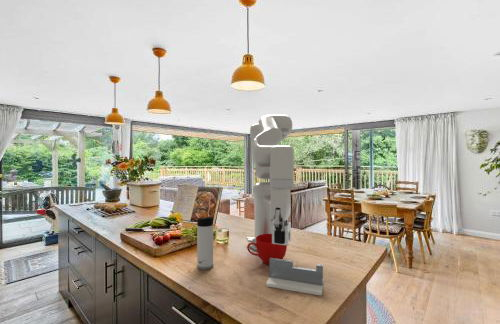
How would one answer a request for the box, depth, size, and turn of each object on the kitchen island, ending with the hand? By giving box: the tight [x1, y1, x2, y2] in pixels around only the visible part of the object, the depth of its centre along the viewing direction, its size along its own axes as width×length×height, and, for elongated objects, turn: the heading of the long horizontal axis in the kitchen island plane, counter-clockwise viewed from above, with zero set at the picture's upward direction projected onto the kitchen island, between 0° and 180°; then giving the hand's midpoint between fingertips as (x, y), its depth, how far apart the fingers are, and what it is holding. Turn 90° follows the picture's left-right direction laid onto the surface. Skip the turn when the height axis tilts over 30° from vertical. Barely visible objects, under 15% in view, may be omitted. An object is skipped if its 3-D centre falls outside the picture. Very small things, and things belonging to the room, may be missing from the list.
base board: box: [265, 277, 324, 296], centre depth 87 cm, size 18×10×1 cm, turn 71°
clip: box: [272, 221, 292, 246], centre depth 81 cm, size 5×5×6 cm
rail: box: [269, 258, 324, 287], centre depth 87 cm, size 18×1×6 cm, turn 71°
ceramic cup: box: [246, 234, 288, 266], centre depth 104 cm, size 13×17×10 cm
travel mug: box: [196, 216, 214, 271], centre depth 100 cm, size 6×7×20 cm
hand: (281, 239), depth 81 cm, fingers closed on clip, 5 cm apart
